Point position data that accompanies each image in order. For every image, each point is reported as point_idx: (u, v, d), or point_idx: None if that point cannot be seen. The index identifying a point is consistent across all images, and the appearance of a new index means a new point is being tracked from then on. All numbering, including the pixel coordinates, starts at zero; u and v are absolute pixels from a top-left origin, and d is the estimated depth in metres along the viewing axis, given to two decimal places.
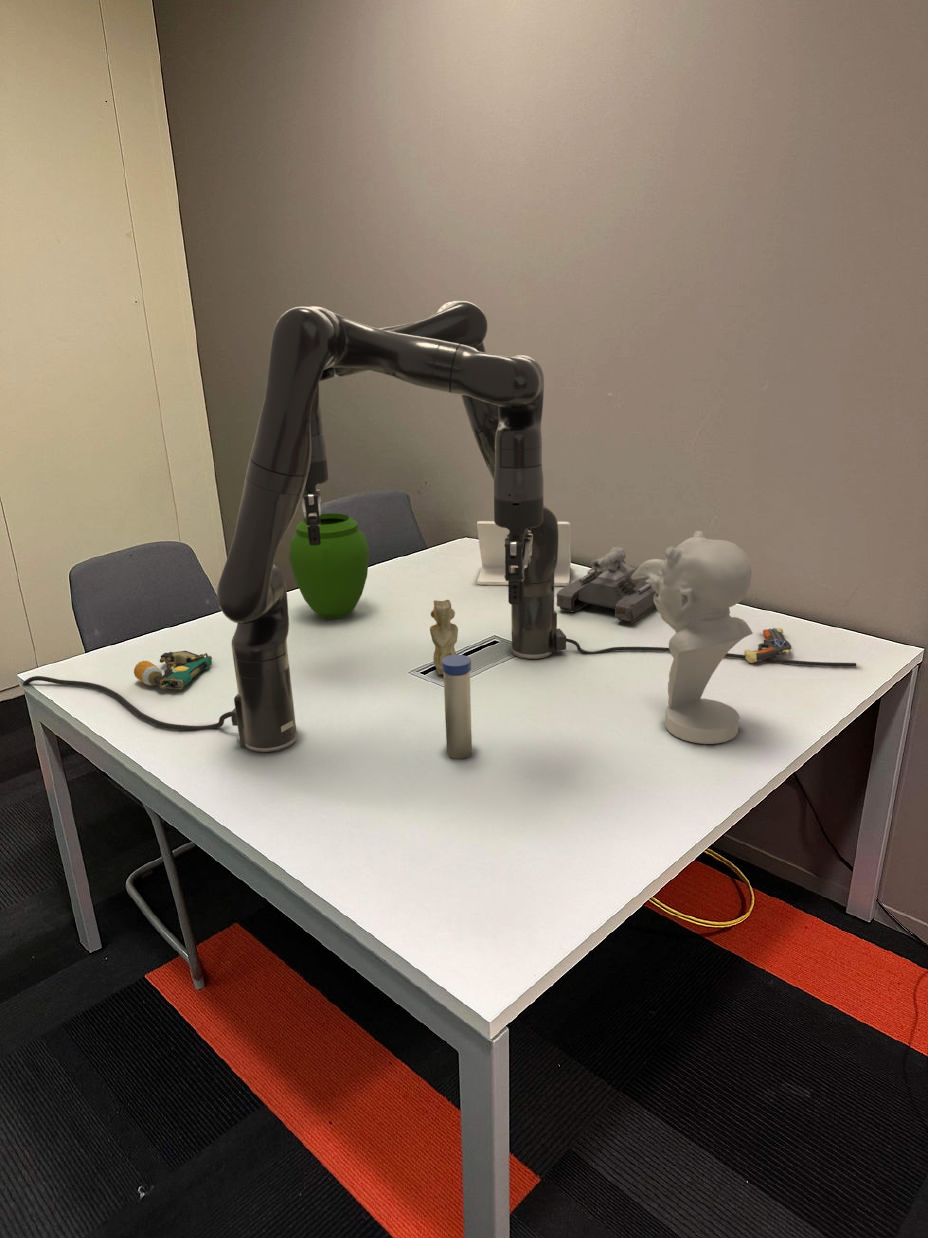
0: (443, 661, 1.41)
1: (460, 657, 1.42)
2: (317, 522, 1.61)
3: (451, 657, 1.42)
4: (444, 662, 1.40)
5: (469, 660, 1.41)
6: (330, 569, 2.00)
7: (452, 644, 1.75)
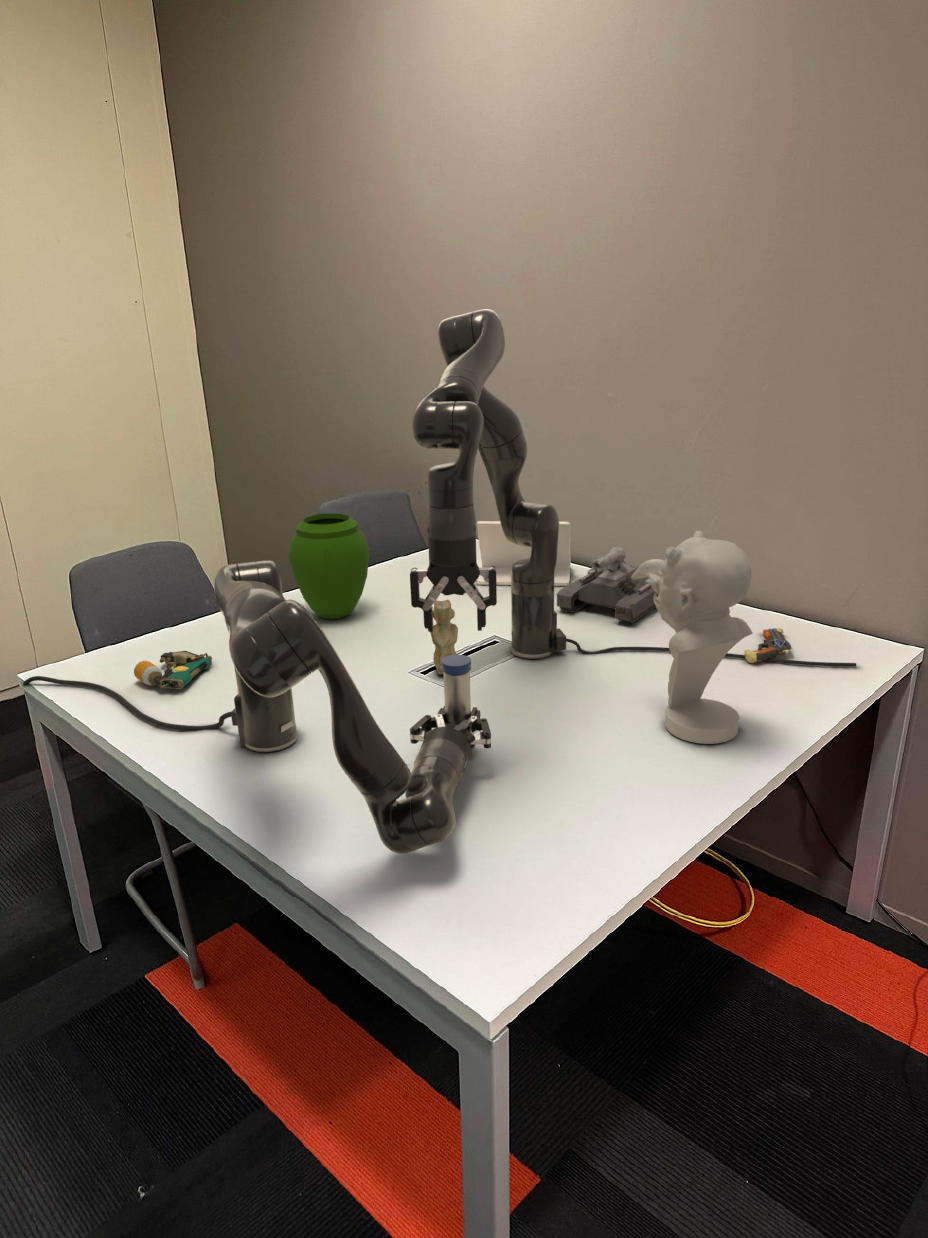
0: (443, 661, 1.41)
1: (460, 657, 1.42)
2: None
3: (451, 657, 1.42)
4: (444, 662, 1.40)
5: (469, 660, 1.41)
6: (330, 569, 2.00)
7: (452, 644, 1.75)
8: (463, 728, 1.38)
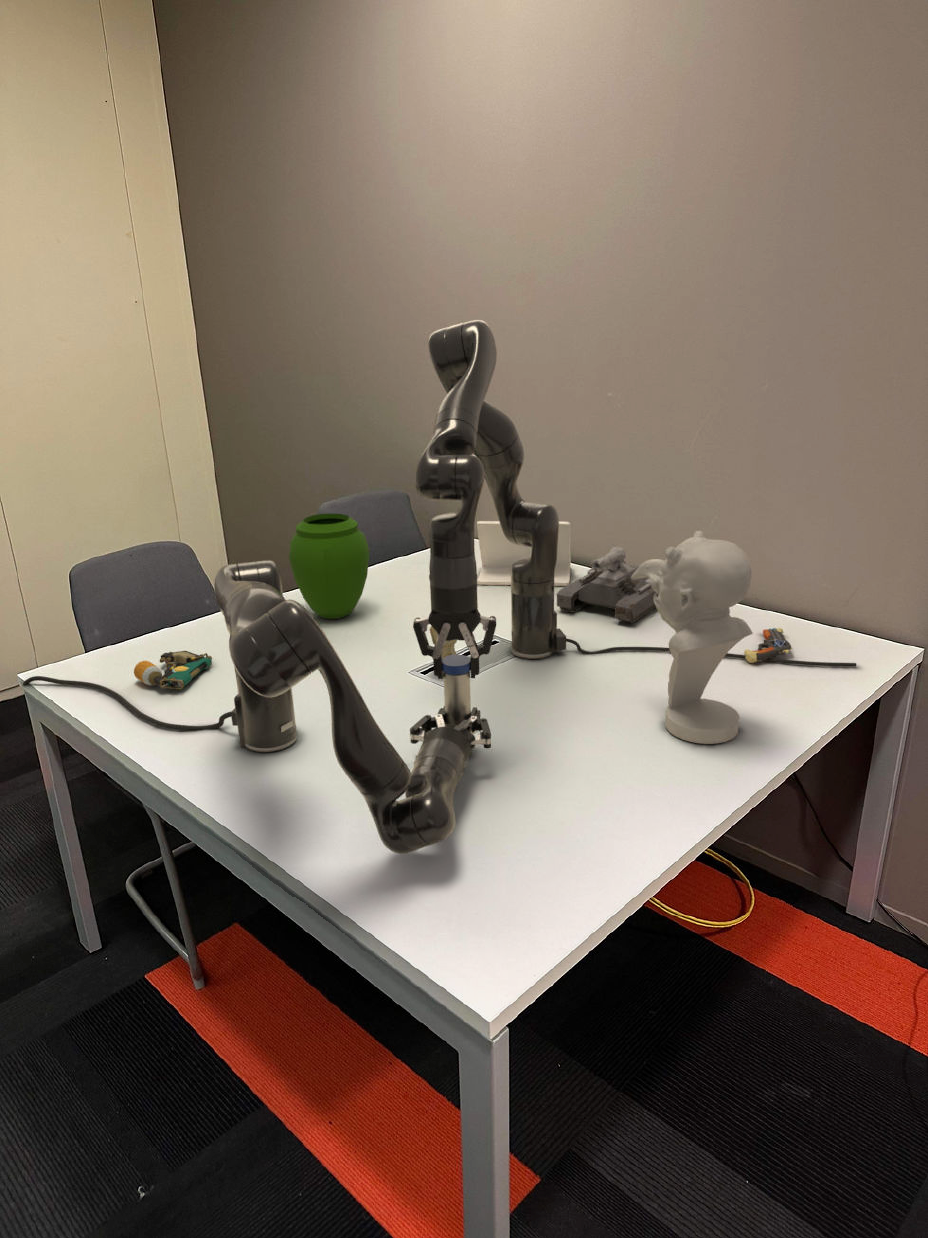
0: (443, 661, 1.41)
1: (460, 657, 1.42)
2: None
3: (451, 657, 1.42)
4: (444, 662, 1.40)
5: (469, 660, 1.41)
6: (330, 569, 2.00)
7: (452, 644, 1.75)
8: (463, 728, 1.38)
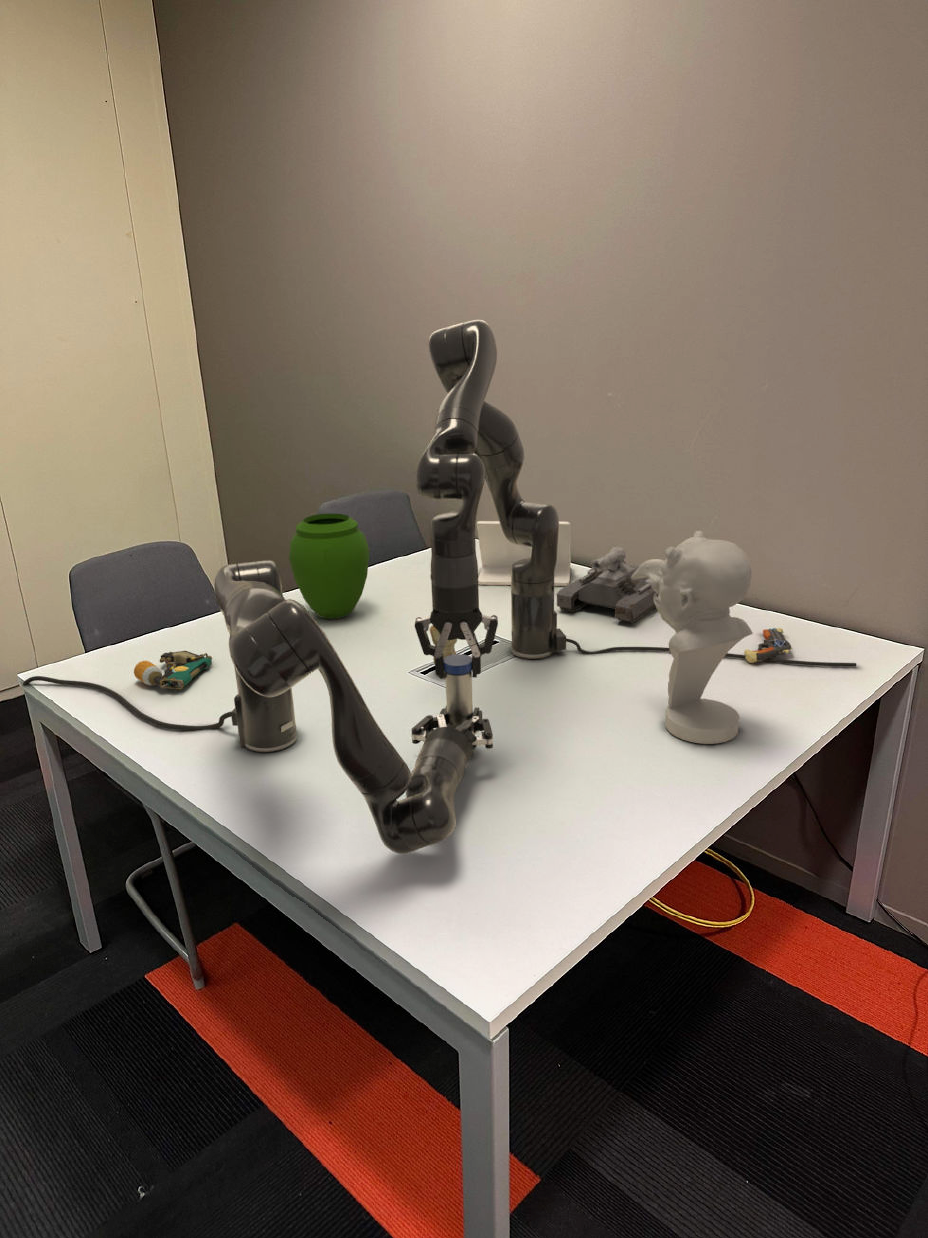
0: (457, 665, 1.39)
1: (451, 658, 1.42)
2: None
3: (449, 661, 1.40)
4: (460, 664, 1.39)
5: (461, 654, 1.43)
6: (330, 569, 2.00)
7: (452, 644, 1.75)
8: (465, 728, 1.38)
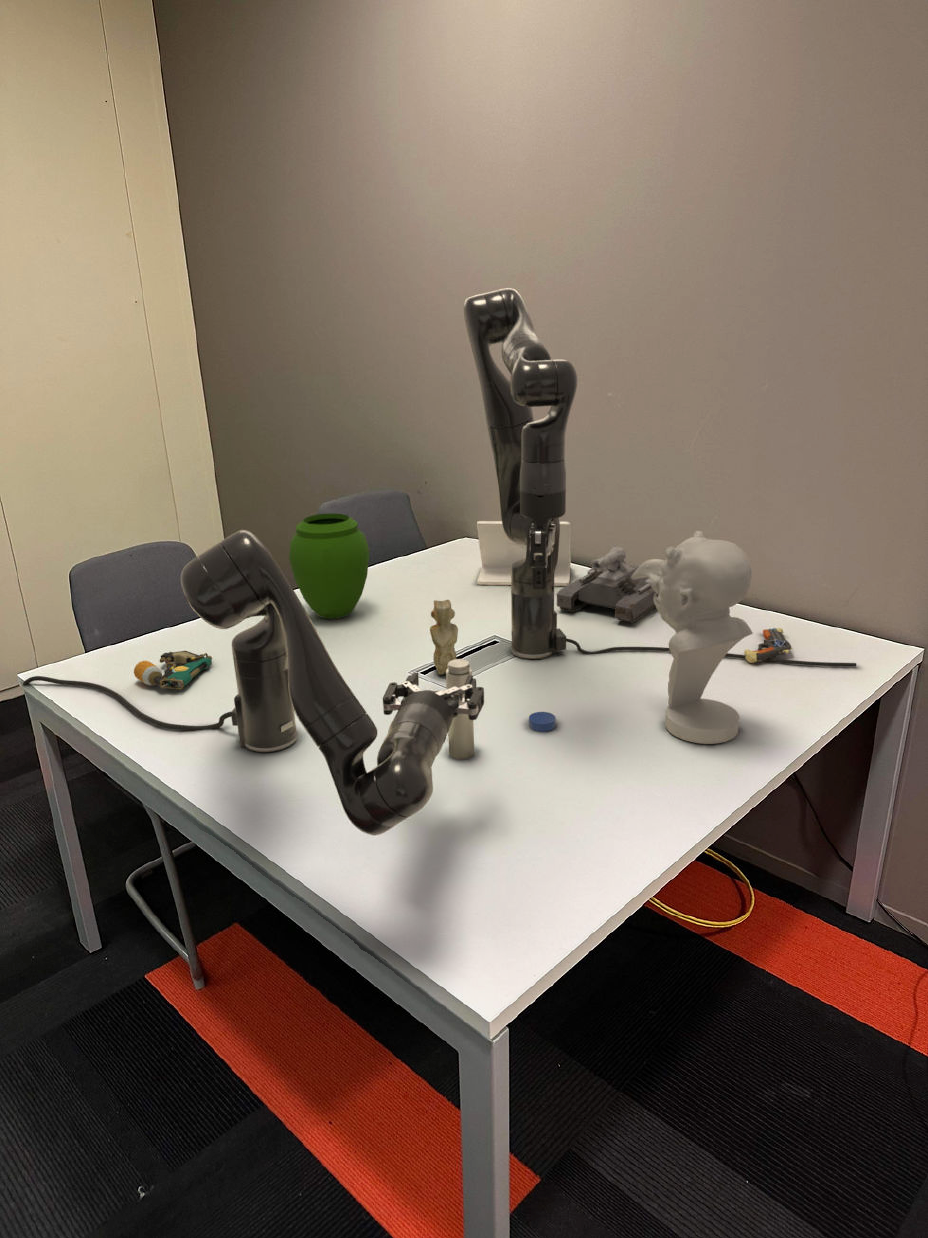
0: (550, 721, 1.53)
1: (534, 717, 1.55)
2: None
3: (538, 721, 1.54)
4: (551, 720, 1.54)
5: (536, 712, 1.57)
6: (330, 569, 2.00)
7: (452, 644, 1.75)
8: None
